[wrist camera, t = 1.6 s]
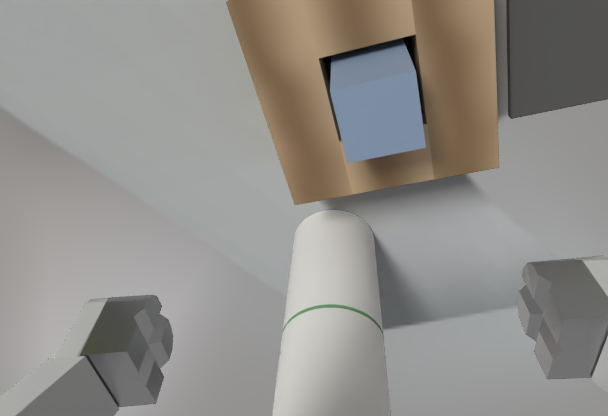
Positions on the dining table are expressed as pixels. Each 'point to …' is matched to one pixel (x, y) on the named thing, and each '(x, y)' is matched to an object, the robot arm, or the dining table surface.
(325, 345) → the cylindrical container
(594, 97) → the mat
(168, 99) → the dining table surface
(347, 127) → the blue block
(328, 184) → the pocket block
